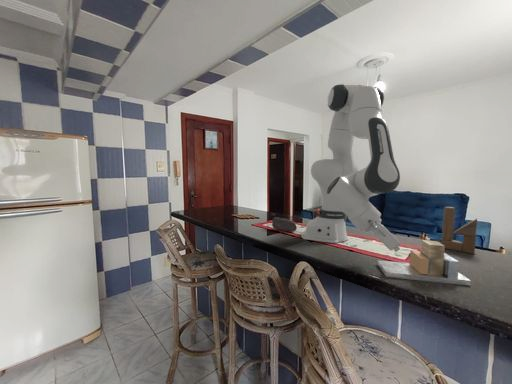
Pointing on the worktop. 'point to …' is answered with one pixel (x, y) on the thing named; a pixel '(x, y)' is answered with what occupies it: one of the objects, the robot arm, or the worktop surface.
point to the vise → (410, 272)
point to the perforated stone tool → (283, 224)
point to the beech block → (434, 255)
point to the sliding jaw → (420, 262)
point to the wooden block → (466, 230)
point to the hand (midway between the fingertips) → (396, 249)
